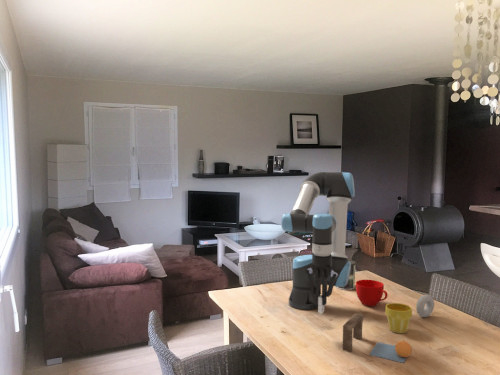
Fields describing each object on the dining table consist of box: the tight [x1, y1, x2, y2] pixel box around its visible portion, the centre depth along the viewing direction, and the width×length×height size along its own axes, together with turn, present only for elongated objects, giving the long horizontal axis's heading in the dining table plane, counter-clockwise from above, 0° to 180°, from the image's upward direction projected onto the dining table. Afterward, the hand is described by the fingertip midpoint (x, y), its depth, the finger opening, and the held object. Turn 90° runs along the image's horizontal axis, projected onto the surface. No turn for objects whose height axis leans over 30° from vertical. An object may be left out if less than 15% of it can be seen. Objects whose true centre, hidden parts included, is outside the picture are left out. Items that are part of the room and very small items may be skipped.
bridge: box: [342, 313, 364, 352], centre depth 166 cm, size 3×14×9 cm, turn 149°
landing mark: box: [369, 341, 408, 364], centre depth 159 cm, size 12×12×1 cm
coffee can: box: [335, 259, 357, 291], centre depth 235 cm, size 10×10×14 cm
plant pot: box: [385, 302, 413, 334], centre depth 179 cm, size 10×10×10 cm
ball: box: [394, 340, 412, 358], centre depth 156 cm, size 6×6×6 cm
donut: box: [415, 294, 435, 318], centre depth 193 cm, size 10×4×10 cm, turn 120°
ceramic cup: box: [355, 279, 388, 307], centre depth 208 cm, size 13×17×10 cm
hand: (321, 312), depth 173 cm, fingers closed
